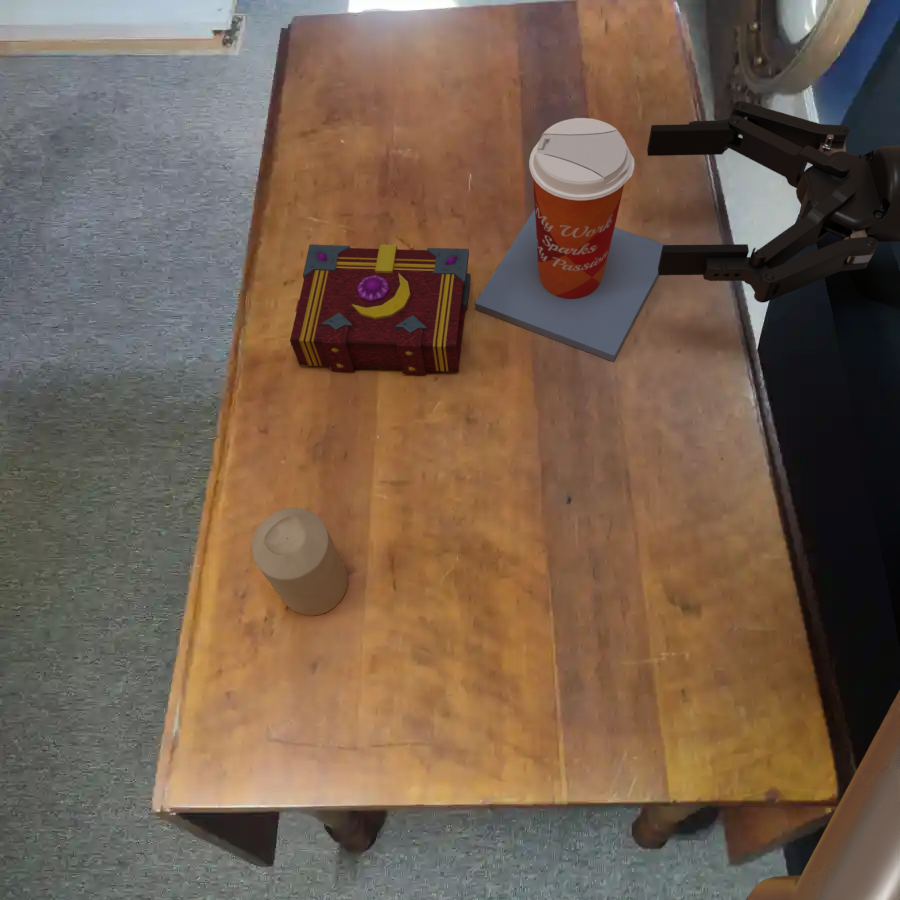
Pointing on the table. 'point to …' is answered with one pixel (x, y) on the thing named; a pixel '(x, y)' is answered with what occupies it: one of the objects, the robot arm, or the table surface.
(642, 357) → the table surface
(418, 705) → the table surface
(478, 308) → the cup mat
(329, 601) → the candle
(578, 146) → the coffee cup
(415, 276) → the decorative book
